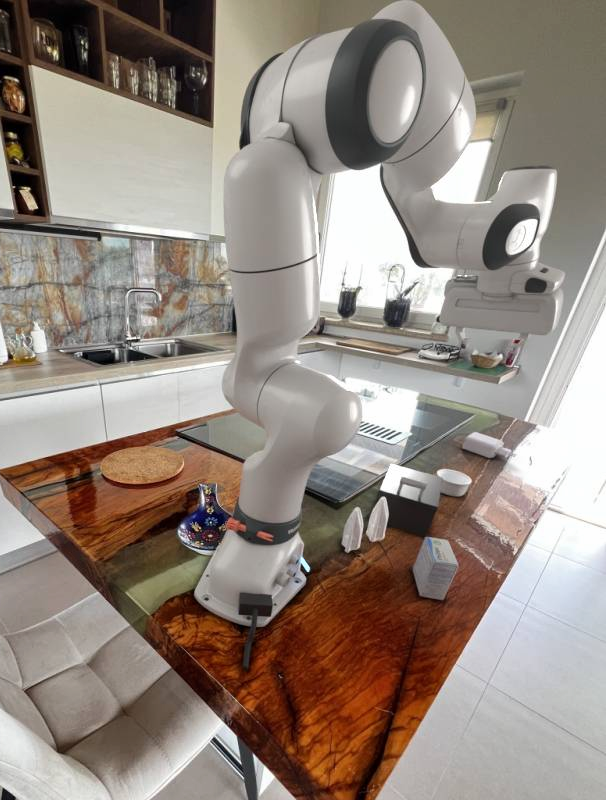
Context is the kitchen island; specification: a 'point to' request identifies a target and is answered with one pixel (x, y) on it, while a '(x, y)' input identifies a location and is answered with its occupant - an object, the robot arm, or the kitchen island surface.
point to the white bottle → (485, 446)
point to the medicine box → (435, 568)
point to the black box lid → (412, 486)
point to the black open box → (408, 515)
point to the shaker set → (375, 526)
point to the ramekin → (453, 482)
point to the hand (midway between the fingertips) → (487, 350)
